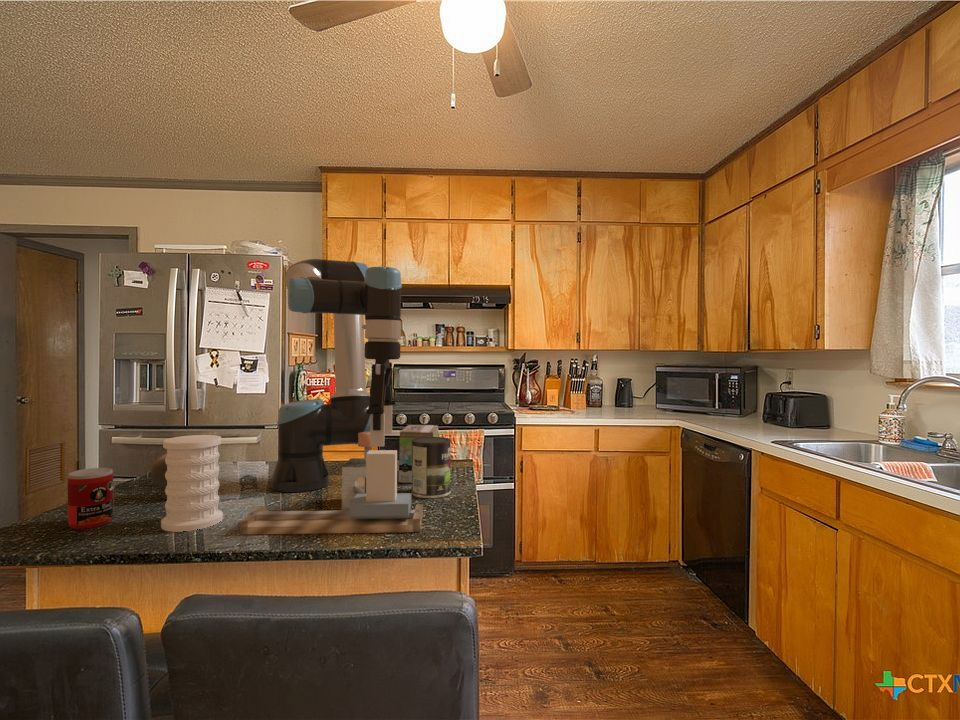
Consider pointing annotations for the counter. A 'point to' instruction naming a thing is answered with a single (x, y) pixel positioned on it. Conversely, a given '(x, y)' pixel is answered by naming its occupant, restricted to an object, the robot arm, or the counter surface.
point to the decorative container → (192, 483)
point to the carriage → (381, 489)
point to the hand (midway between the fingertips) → (381, 440)
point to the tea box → (406, 447)
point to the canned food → (90, 498)
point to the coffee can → (431, 467)
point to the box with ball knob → (353, 481)
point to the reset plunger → (364, 442)
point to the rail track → (325, 522)
